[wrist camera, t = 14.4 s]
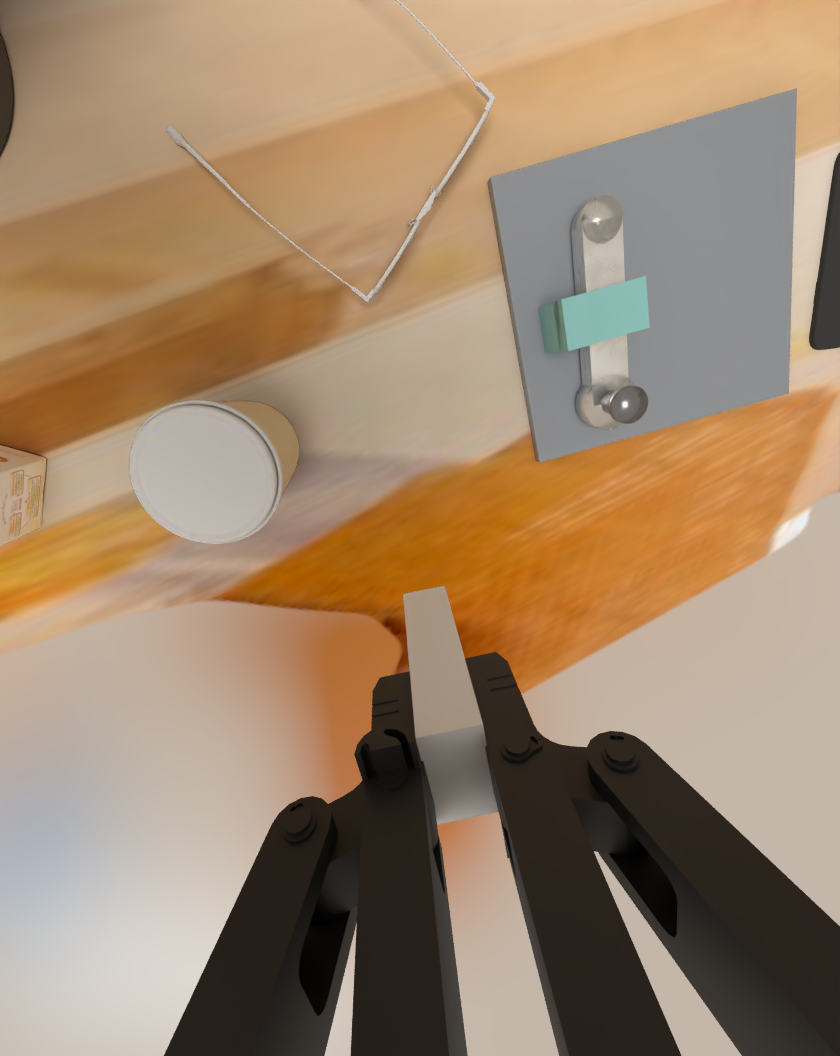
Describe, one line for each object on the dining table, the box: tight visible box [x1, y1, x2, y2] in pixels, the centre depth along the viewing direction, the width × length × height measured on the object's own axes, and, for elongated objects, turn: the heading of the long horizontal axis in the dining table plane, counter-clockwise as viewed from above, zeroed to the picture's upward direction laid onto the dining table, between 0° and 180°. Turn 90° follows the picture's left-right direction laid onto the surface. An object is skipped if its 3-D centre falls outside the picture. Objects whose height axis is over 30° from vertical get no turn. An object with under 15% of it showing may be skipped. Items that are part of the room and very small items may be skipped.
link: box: [571, 195, 648, 429], centre depth 34 cm, size 17×4×5 cm, turn 11°
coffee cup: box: [129, 400, 299, 544], centre depth 34 cm, size 9×9×12 cm
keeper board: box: [488, 89, 797, 462], centre depth 35 cm, size 22×23×6 cm
